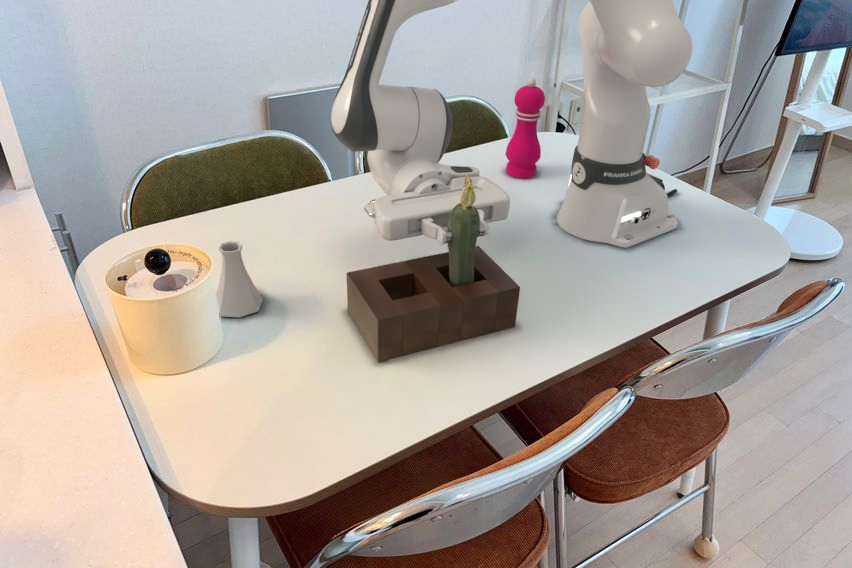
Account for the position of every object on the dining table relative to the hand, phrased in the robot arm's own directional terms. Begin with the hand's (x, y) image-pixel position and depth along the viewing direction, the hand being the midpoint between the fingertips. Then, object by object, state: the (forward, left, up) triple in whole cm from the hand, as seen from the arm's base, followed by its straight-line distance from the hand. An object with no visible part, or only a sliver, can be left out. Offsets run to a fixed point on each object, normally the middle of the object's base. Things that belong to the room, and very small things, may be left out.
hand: (466, 235), depth 95 cm
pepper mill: (-36, -42, -14) cm, 57 cm away
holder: (+4, -1, -14) cm, 14 cm away
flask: (+29, -15, -14) cm, 36 cm away
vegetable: (0, -1, -12) cm, 12 cm away
